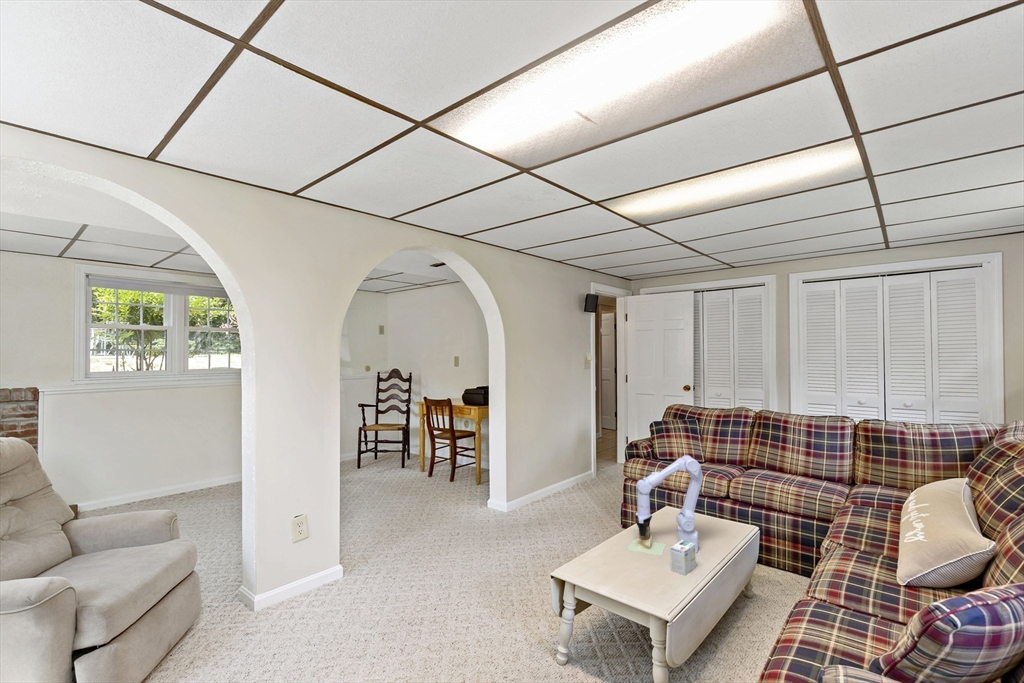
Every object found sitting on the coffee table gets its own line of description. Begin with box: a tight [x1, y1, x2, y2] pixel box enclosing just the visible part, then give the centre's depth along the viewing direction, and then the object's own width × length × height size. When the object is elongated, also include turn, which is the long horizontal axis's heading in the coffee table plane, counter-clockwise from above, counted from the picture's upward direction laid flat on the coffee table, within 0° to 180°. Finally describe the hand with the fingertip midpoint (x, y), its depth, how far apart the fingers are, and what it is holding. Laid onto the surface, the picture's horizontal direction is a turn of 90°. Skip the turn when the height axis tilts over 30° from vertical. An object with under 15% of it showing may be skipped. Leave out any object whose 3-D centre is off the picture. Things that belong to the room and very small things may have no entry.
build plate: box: [626, 538, 667, 556], centre depth 231 cm, size 16×14×1 cm
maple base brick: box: [636, 535, 653, 549], centre depth 233 cm, size 6×6×4 cm
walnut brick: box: [638, 525, 651, 540], centre depth 233 cm, size 4×4×5 cm
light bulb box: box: [670, 540, 697, 576], centre depth 209 cm, size 11×7×11 cm, turn 135°
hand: (644, 533), depth 233 cm, fingers open, 7 cm apart
